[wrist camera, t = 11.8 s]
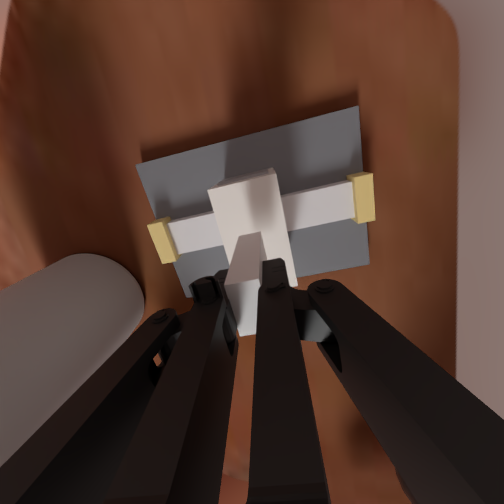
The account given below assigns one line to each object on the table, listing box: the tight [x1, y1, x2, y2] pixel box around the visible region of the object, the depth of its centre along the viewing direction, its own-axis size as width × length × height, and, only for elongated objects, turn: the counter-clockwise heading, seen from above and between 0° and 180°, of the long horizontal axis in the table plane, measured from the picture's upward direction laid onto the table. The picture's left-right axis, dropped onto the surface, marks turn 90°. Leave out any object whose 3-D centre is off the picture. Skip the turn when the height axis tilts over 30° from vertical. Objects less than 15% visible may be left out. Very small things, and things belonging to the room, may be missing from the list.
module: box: [207, 167, 298, 287], centre depth 22 cm, size 9×5×8 cm, turn 14°
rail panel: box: [135, 106, 375, 298], centre depth 26 cm, size 16×22×4 cm
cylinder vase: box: [0, 253, 144, 467], centre depth 21 cm, size 12×12×25 cm
